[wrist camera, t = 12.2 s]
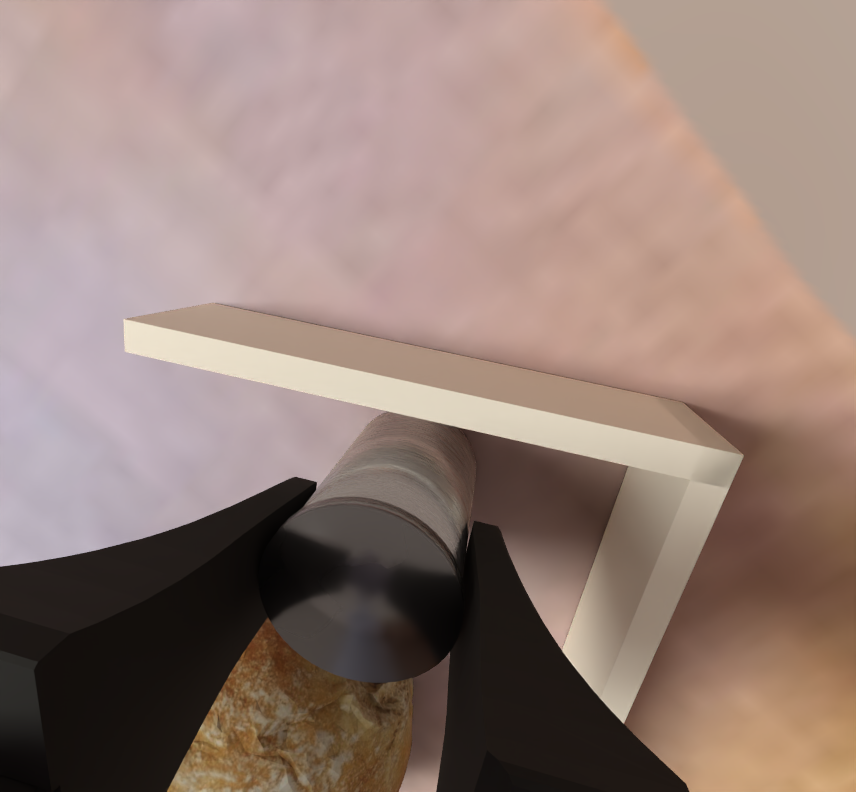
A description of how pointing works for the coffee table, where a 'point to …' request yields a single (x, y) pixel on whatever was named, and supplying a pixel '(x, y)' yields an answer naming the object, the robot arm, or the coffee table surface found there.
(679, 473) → the cream low open frame
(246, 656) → the bread roll
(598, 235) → the coffee table surface
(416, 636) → the grey tin
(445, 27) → the coffee table surface
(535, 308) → the coffee table surface
